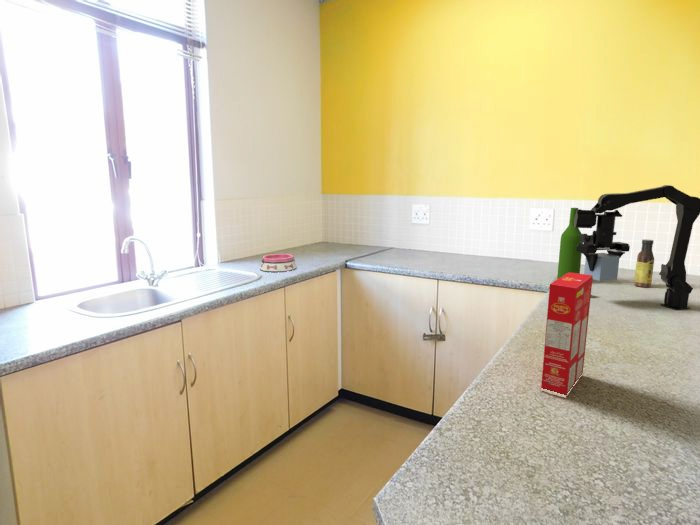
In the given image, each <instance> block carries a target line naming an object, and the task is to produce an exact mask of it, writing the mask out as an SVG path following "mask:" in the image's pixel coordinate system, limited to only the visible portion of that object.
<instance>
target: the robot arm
mask: <svg viewBox="0 0 700 525" xmlns="http://www.w3.org/2000/svg"><path fill="white" fill-rule="evenodd" d="M662 198H665V199H667V200H668V201H669V202H671V203H673V205H675V215H676V220H677V224H676V227H675V231H674V237H673V240H672V246H671V250H670V256H669V259H668V262H666V263H665V264H663V263H661V264H660V272H659V273H658V275H660V280H661V281H662V282H663V283H664V284H665V287H666V291H665V294H664V299H663V300H664V301H663V303H661V304H660V305H661V306H663V307H667V308H670V309H672V310H676V311H678V310H687V309H689V310H690V309H691V306H689V305H688V304H689V299H690V298H689V297H690V294H691V293H692V291H693V290H694V287H692V286H691V285H690V284H689V283H688V281H687V270H686V264H685V262H686V259H687V258H686V257H687V254H688V253H687V252H688V249H689V248H688V247H689V243H690V240H691V236H692V231H693V226H694V223H695V222H696V220H697V219H698V218H699V216H700V198H699V197H698V196H692V195H689V194H687V193H685V192H684V191H681V190H679V189H677V188H676V187H674V186H673V185H670V184H664V185H661V186H657V187H652V188H647V189H643V190H641V189H640V190H636V191H631V192H625V193H624V192H623V193H621V192H619V193H618V192H617V193H616V192H615V193H604V194H601V195H600V196H599V197H598V199H597V203H596V204H595V205H594V206H593V207H591V209H581V208H578V209H577V211H576V214H575V217H574V227H575V228H579V229H592V228H593V227H595V226H596V227H595V228H596V229H595V230H593V231H592V234H590V235H589V234H588V233H581V234H580V242H581V243H583V244H578V245H577V249H576V251H579V252H581V253H582V255H584V256H585V260H586V259H587V262H588V265H589V269H590V271H593V270H594V267H595V264H596V260H597V257H598V254H596V253H597V251H606V253H607V254H612V255H617V256H620V258H621V257H622V256H623V255H624V254H626V252H630V247H631V246H630V244H629V243H626V242H621V241H614V236H617V231H615V225H616V218H618V217H619V218H622V217H623V214H621V213H620V211H619V210H618V209H620V208H623V207H625V206H627V205H630V204H631V205H632V204H635V203H639V202H641V203H642V202H646V201H650V200H656V199H662Z"/></svg>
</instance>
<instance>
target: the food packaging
mask: <svg viewBox="0 0 700 525" xmlns="http://www.w3.org/2000/svg"><path fill="white" fill-rule="evenodd" d="M593 280H594V279H593V275H586V274H583V273H580V274H578V273H570V272H568V273H567V274H565V275H564V276H562V277H560V278H559V279H557V278H556V280H555V281H553V282H550V283H549V289H548V290H549V291H548V301H547V302H548V304H547V313H546V314H547V315H546V326H545V336H544V337H545V338H544V350H543V362H542V372H541V385H540V387H541V388H543V389H547V390H550V391H554V392H557V393H560V394H564V395H567V393H568V392H569V391H570V389H571V388H572V387H573V385H574V384H575V382H576V381H577V380H578V379H579V377H580V376H581V375H582V373H583V374H584V365H585V354H586V345H587V336H588V326H589V317H590V316H589V315H590V308H591V307H590V305H591V295H592V289H593V288H592V286H593ZM541 388H540V389H541Z"/></svg>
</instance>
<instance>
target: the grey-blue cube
mask: <svg viewBox="0 0 700 525" xmlns="http://www.w3.org/2000/svg"><path fill="white" fill-rule="evenodd" d="M595 253H596V254H598V257H597V260H596V264H595V267H594V270H593V271H590V269H589V265H588V262H587V259H586V258H585V263H584V270H583V271H584V274H586V275H593V279H592V280H595V281H597V282H605V281H618V275H619V274H618V273H619V267H620V266H619V265H620V259H621V257H620V256H617V255H612V254H608V252H595Z"/></svg>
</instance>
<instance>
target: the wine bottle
mask: <svg viewBox="0 0 700 525" xmlns="http://www.w3.org/2000/svg"><path fill="white" fill-rule="evenodd" d="M577 209H579V207H571V208H570V214H569V215H570V216H569V222H568V226H567V227H566V228H565V230H564V231H563V232H562V234H561V236H560V242H559V253H558V265H557V276H556V280H557V279H559V278H560V277H562V276H564V275H565V274H567V273H568V272H570V273H578V274H581V266H582V264H581V263H582V255H583V254H582V253H581V252H579V251H576V249H577V245H578V244H584V243H581V242H580V234H582V232H581V230H580V228H575V227H574V217H575V214H576V211H577Z"/></svg>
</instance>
